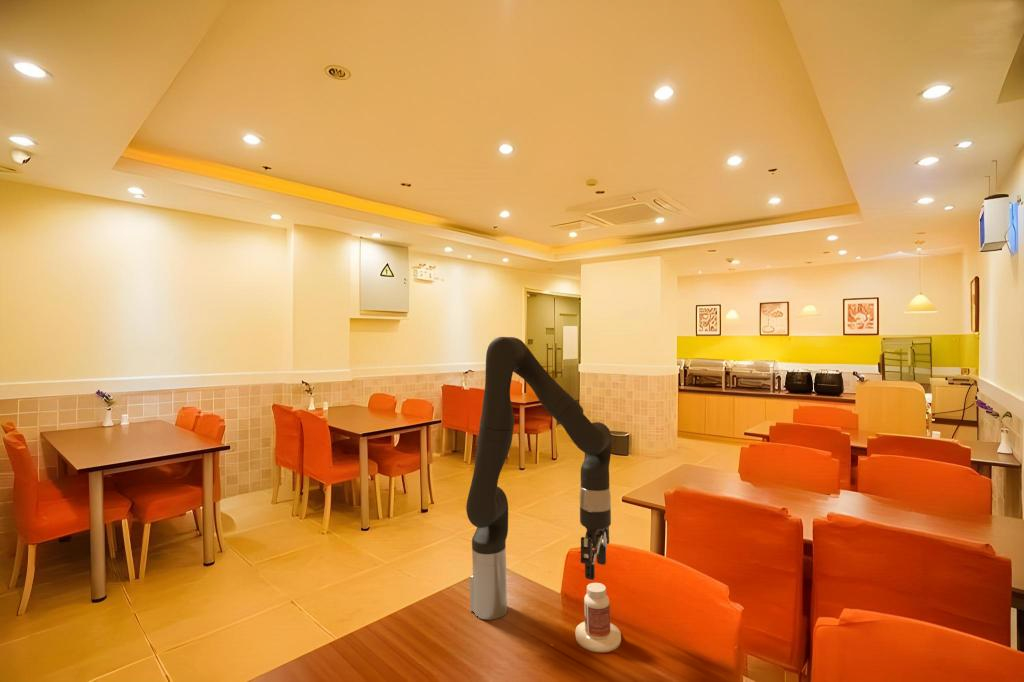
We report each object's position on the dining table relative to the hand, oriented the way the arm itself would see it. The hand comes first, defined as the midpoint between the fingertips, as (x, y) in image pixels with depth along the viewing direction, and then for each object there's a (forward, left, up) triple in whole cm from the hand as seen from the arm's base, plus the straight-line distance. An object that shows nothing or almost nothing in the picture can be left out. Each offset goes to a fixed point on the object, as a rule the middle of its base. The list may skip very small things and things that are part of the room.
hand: (595, 571), depth 114 cm
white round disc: (0, 0, -16) cm, 16 cm away
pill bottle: (0, 0, -15) cm, 15 cm away
